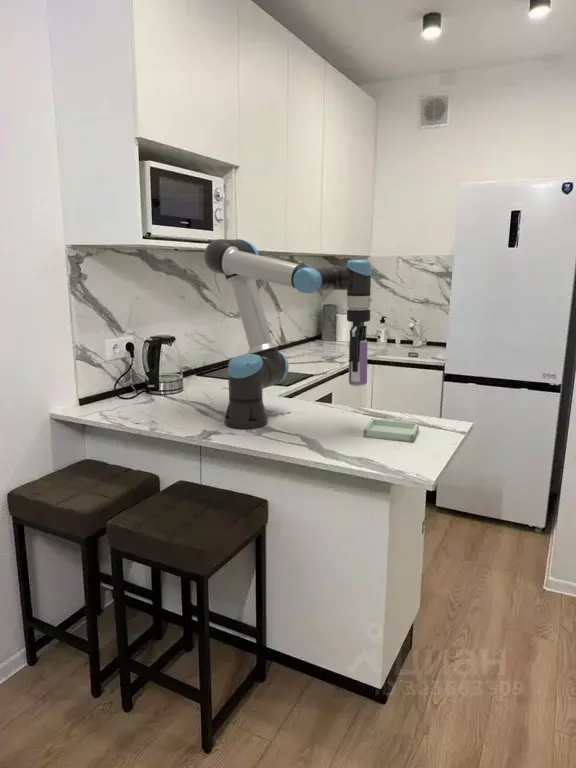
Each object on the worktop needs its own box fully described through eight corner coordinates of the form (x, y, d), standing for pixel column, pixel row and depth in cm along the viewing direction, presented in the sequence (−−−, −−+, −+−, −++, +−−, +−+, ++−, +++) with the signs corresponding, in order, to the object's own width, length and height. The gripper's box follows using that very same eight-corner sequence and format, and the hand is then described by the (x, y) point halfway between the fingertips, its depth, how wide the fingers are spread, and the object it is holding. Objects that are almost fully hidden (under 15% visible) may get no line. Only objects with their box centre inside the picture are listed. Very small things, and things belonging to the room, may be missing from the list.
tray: (363, 436, 180) (363, 429, 179) (371, 425, 192) (371, 418, 191) (413, 442, 174) (413, 435, 174) (418, 430, 186) (418, 423, 186)
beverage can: (370, 384, 183) (371, 339, 180) (359, 387, 179) (359, 341, 176) (356, 381, 187) (356, 337, 184) (345, 384, 183) (345, 340, 180)
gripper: (363, 312, 168) (362, 386, 173) (376, 306, 185) (375, 374, 190) (339, 311, 170) (339, 384, 175) (354, 306, 187) (353, 372, 193)
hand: (357, 378), depth 183 cm, fingers closed on beverage can, 6 cm apart
